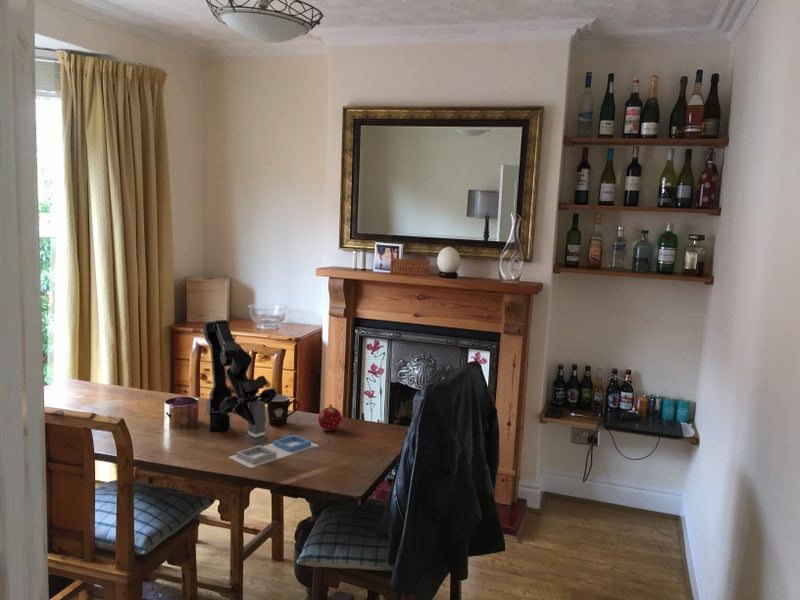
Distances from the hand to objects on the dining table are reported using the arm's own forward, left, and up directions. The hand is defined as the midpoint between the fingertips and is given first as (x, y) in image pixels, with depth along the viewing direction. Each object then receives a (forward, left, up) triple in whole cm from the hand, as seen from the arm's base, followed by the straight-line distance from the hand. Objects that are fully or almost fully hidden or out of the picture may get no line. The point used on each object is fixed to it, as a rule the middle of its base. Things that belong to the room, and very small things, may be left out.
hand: (259, 423), depth 199 cm
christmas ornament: (+23, +29, -13) cm, 39 cm away
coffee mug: (+5, +36, -13) cm, 39 cm away
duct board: (+5, +6, -13) cm, 15 cm away
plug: (-1, +1, -7) cm, 7 cm away
